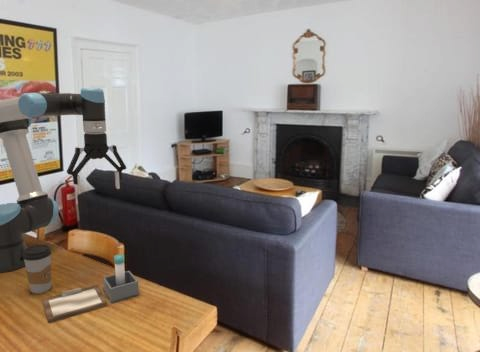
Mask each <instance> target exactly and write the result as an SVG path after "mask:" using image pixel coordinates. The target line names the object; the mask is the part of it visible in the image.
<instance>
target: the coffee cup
mask: <svg viewBox="0 0 480 352" xmlns="http://www.w3.org/2000/svg"><path fill="white" fill-rule="evenodd" d="M51 251H52V250H51V248H50V246H49V245H47V244H36V245H31V246H29V247H27V248H26V249H25V250H24V253H23V259H24V261H25V266H24V267H25V272H26V277H27V282H28V286H29V290H30V292H31V293H32V294H38V295H39V294H43V293H46V292H48V291H49V290H50V289H51V287H52V264H51V263H52V261H51V254H52V252H51Z"/></svg>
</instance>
